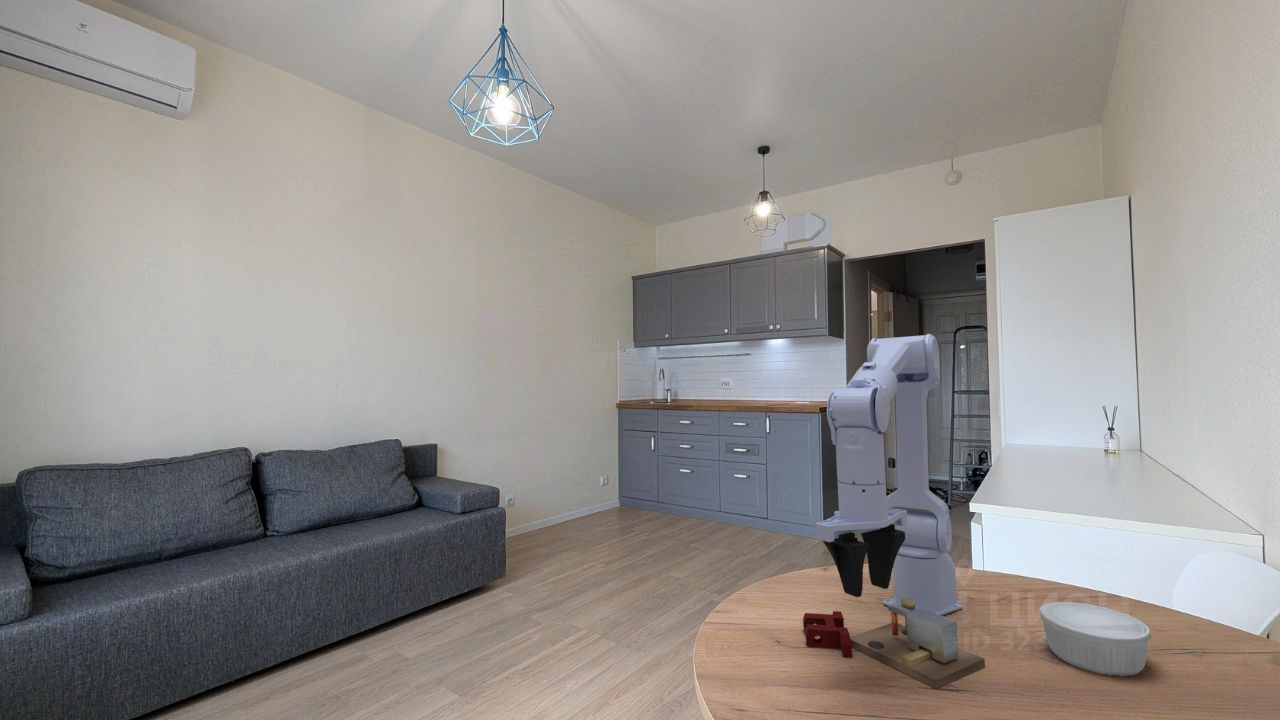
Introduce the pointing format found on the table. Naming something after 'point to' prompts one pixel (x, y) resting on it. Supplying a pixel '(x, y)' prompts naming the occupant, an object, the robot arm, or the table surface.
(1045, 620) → the ramekin
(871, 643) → the board
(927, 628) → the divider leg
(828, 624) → the bracket
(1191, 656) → the table surface
